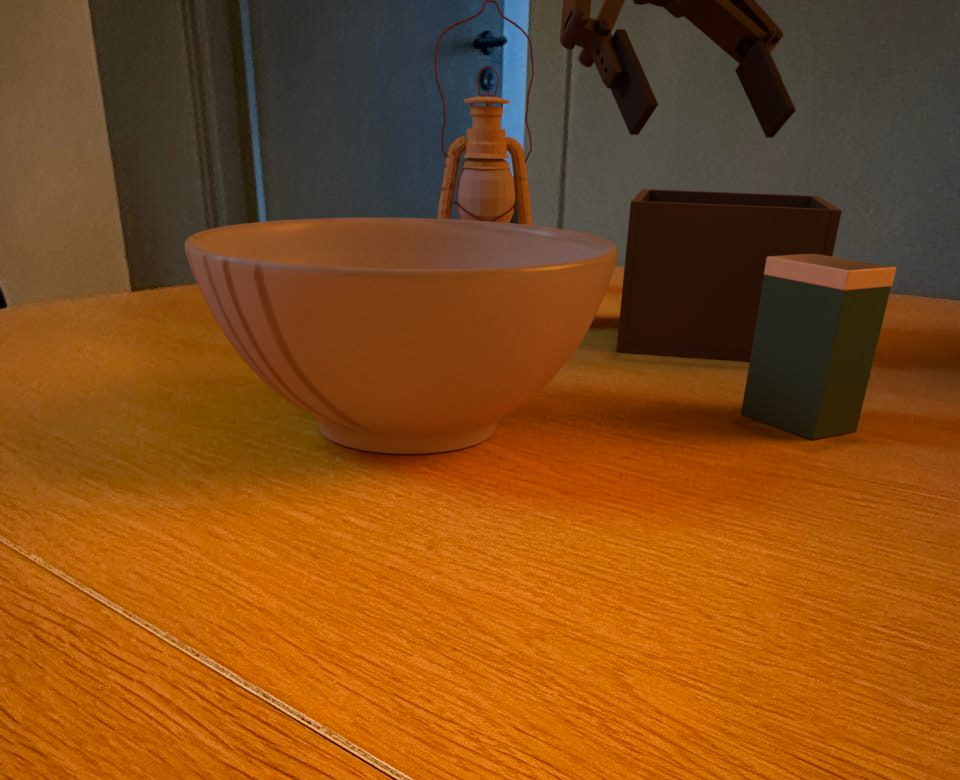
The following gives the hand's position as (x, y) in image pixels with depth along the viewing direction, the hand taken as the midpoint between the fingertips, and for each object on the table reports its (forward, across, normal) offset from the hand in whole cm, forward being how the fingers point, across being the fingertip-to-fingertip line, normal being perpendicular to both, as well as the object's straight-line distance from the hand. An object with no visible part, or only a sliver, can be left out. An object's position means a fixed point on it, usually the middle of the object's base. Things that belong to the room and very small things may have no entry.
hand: (715, 122), depth 67 cm
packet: (+23, +1, -3) cm, 24 cm away
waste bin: (+6, -13, -21) cm, 25 cm away
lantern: (-18, -6, -45) cm, 49 cm away
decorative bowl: (+16, +27, -12) cm, 33 cm away
